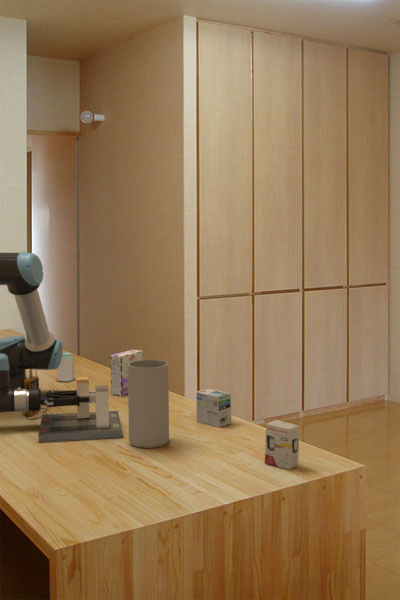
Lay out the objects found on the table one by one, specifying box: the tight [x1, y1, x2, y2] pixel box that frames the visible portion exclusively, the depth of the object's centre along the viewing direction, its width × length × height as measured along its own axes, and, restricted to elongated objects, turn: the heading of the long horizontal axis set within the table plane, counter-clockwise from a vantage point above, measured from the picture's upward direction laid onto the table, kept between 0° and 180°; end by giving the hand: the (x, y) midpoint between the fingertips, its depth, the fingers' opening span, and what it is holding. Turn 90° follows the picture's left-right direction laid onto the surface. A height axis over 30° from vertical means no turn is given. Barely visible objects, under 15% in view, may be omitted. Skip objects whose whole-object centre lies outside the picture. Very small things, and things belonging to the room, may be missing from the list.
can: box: [56, 351, 75, 383], centre depth 302 cm, size 7×7×12 cm
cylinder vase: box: [127, 359, 170, 449], centre depth 217 cm, size 12×12×25 cm
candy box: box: [110, 349, 144, 398], centre depth 280 cm, size 14×6×16 cm, turn 144°
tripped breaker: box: [76, 376, 90, 419], centre depth 236 cm, size 4×4×13 cm
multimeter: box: [23, 358, 49, 421], centre depth 249 cm, size 15×10×20 cm
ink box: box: [264, 419, 301, 470], centre depth 197 cm, size 9×5×12 cm, turn 50°
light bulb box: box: [196, 388, 232, 428], centre depth 238 cm, size 11×7×11 cm, turn 47°
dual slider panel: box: [38, 384, 123, 444], centre depth 231 cm, size 23×26×16 cm
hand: (98, 396), depth 237 cm, fingers closed on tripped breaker, 4 cm apart
